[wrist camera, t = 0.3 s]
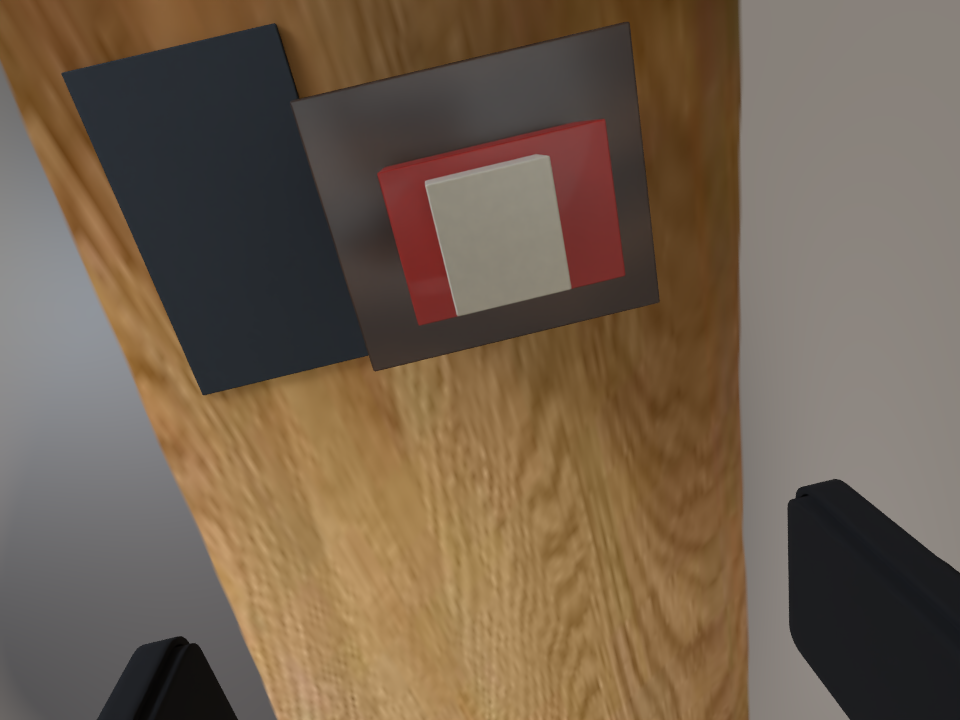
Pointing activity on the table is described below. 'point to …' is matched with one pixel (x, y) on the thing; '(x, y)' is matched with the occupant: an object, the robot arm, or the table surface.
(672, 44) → the table surface
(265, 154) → the mat
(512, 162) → the red and white block
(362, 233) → the shelf
